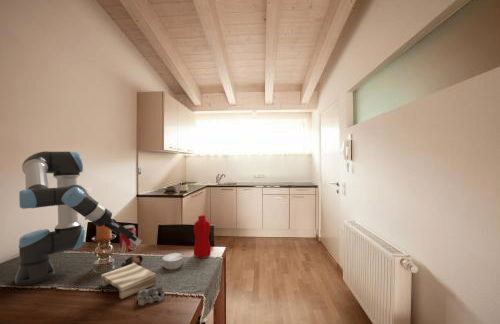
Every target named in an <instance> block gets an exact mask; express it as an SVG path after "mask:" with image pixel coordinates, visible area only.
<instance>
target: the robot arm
mask: <svg viewBox="0 0 500 324" xmlns="http://www.w3.org/2000/svg"><path fill="white" fill-rule="evenodd" d="M21 170H22V172H23V174H24V175H25V176H24V178H25V189H22V190H19V195H18V196H19V197H18V198H19V208H20V209H23V210H24V209H37V208H47V207H53V206H54V207H55V206H57V222H58V223H57V225H55V227H54V231H50V230H49V229H47V228H44V229H39V230H34V231H30V232H28V233H26V234H24V235H22V236H20V238H19V240H18V242H19V243H18V251H19V257H18V258H19V262H18V263H19V267H18V269H17V272H16V275H15V277H14V284H15V285H16V286H30V285H34V284H39V283H41V282H44V281H46V280H49V279H51V278H52V277H53V276H54V275H55V268H54V265H53V264H52V261H51V255H54V254H55V255H56V254H60V253H65V252H69V251H74V250H78V249H80V248H82V247H83V245H84V242H85V234H86V233H85V231H86V229H85V226H82V223H81V222H79V221H78V214H79V215H81V216H82V217H84V220H86V221H90V222H92V224H93V225H95V226H96V227H98V228H99V227H103V226H104V227H105V228H107V229H109V230H110V231H111V232H113V233H114V234H116V235H118V236H120V233H121V234H122V235H124V236H125V237H127V238H128V239H127V240H130V241H131V242H133V243H134V244H136V247H139V246H140V244H141V243H142V239H140V238H138V237H137V235H136V236H135V235H134V234H133V233H132V232H130V231H129V230H128V229H126V228H125V227H123V226H124V225H122V224H121V223H119V221H117V220H116V219H114V218H112V217H113V212H112V211H110V210H108V208H106V207H105V206H104V205H103V204H101V203H100V202H98V201H97V200H95V199H94V198H93V197H92V196H91V195H90V194H89V193H88V192H87V190H86V189H85V187H83V186H82V185H80V184H77V178H78V177H79V176H80V174H81V173H83V171H84V165H83V161H82V156H81V154H80V153H79V152H77V151H39V152H35V153H34V154H31V155H30V156H28V157H27V158H25V160H24V161H23V162H22V165H21ZM48 174H52V175H53V176H52V177H53V178H54V179H56V187H50V186H49V181H48V176H47V175H48Z"/></svg>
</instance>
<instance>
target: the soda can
mask: <svg viewBox="0 0 500 324" xmlns="http://www.w3.org/2000/svg"><path fill="white" fill-rule="evenodd" d="M122 226H123V227H125V228H126V229H128V230H129V231H130V232H132V233H133V234H134V235H135V236H136V237H137V229H136V227H135V225H134V224H127V225H122ZM127 239H128V238H127V237H125V236H124V235H122V234H121V233H120V235H119V251H120V253H122V254H131V253H133V252H134V251H136V250H137V245H136V244H134V243H133V242H131V241H130V240H127Z"/></svg>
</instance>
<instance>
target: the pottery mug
mask: <svg viewBox="0 0 500 324" xmlns="http://www.w3.org/2000/svg"><path fill="white" fill-rule="evenodd" d="M142 262H143V256H142V255H141V254H138V255H136V256H134V255H132V256H130V257H128V258H127V259H125V261H124V262H122V263H121V265H120V267H121V268H122V267H125V266H128V265H130V264H133V263H135V264H137V265H139V266H141V267H143V265H142Z"/></svg>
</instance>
